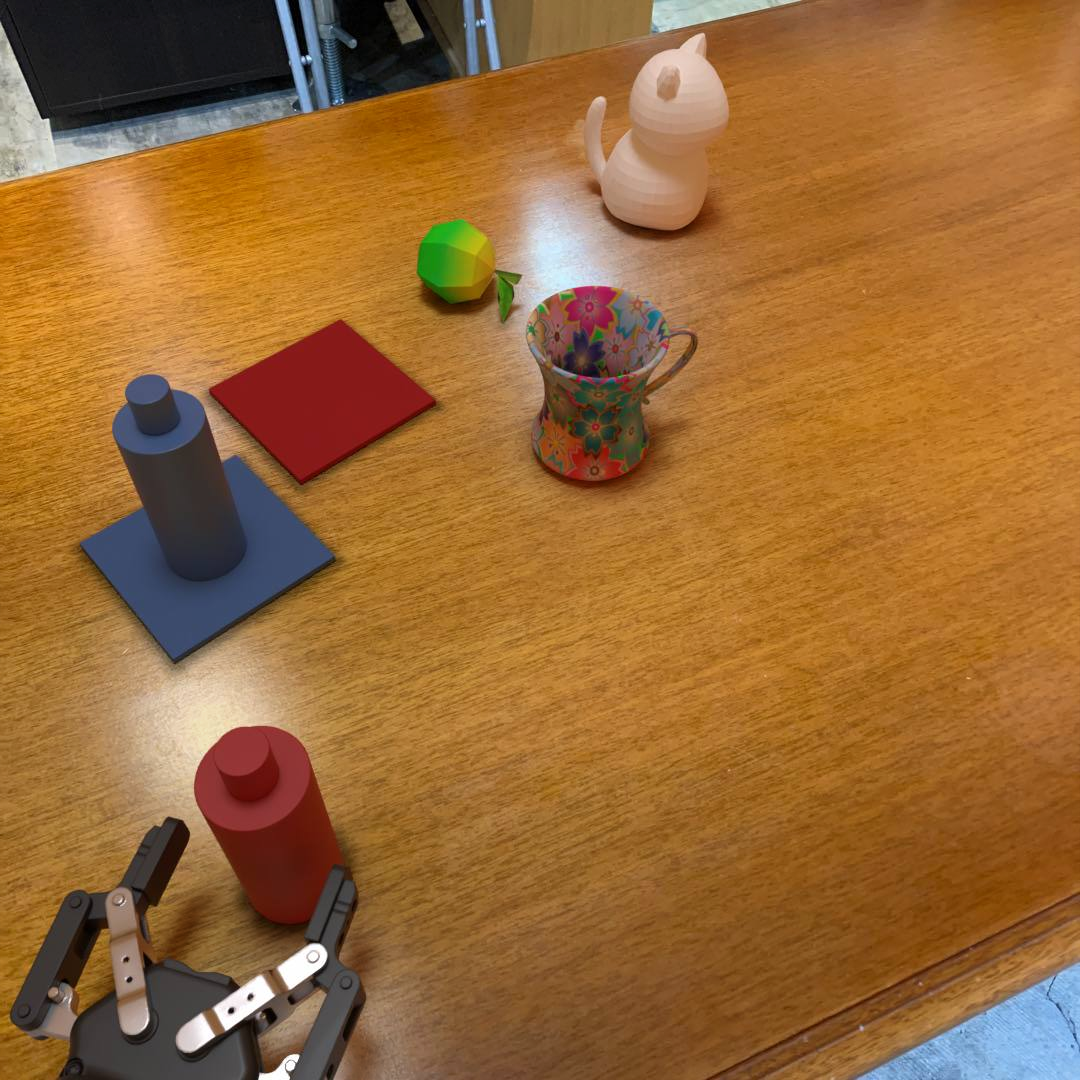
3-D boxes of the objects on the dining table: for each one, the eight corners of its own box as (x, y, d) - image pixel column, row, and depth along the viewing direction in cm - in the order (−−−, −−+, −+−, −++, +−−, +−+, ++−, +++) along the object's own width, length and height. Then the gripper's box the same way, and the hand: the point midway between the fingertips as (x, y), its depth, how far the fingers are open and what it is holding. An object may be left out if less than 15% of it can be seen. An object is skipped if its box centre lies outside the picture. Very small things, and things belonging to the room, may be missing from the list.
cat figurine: (689, 257, 92) (714, 89, 80) (557, 215, 95) (563, 48, 83) (728, 202, 97) (757, 36, 85) (601, 163, 100) (612, -1, 88)
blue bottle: (192, 594, 69) (127, 436, 57) (151, 546, 71) (80, 385, 60) (262, 551, 71) (212, 391, 60) (219, 506, 73) (164, 343, 62)
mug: (549, 506, 74) (553, 394, 66) (508, 414, 80) (507, 300, 71) (709, 466, 77) (732, 353, 69) (659, 379, 82) (674, 265, 74)
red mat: (301, 484, 75) (299, 480, 75) (209, 393, 81) (207, 388, 80) (436, 404, 80) (435, 399, 80) (341, 323, 86) (340, 318, 85)
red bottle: (282, 945, 56) (221, 831, 45) (228, 872, 58) (156, 746, 47) (364, 879, 58) (325, 755, 47) (308, 811, 60) (259, 677, 49)
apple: (411, 205, 83) (521, 230, 81) (440, 216, 89) (542, 239, 87) (393, 298, 85) (500, 324, 83) (422, 302, 91) (522, 327, 89)
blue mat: (175, 663, 66) (172, 659, 66) (81, 547, 72) (78, 542, 71) (336, 560, 71) (335, 555, 71) (237, 458, 77) (235, 454, 76)
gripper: (237, 1282, 38) (394, 854, 48) (-116, 1161, 40) (103, 775, 50) (274, 1296, 44) (407, 913, 54) (-35, 1189, 46) (147, 839, 56)
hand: (260, 846), depth 52 cm, fingers open, 8 cm apart
